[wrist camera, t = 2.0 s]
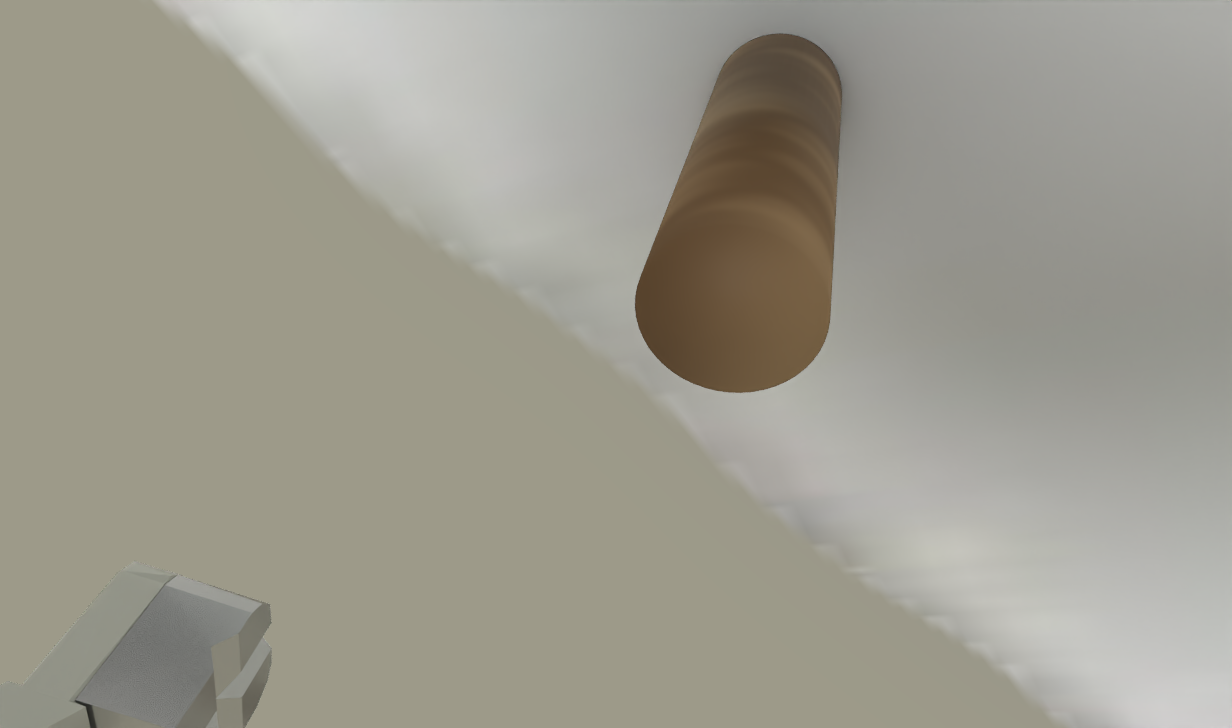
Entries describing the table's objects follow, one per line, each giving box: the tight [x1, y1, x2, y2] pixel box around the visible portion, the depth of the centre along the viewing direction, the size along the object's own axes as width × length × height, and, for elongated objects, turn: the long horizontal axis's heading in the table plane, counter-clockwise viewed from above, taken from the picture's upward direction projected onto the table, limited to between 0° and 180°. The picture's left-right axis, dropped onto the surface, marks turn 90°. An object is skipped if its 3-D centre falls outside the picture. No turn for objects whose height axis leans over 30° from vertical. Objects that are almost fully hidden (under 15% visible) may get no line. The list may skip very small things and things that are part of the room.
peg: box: [635, 34, 842, 393], centre depth 22 cm, size 4×4×12 cm
